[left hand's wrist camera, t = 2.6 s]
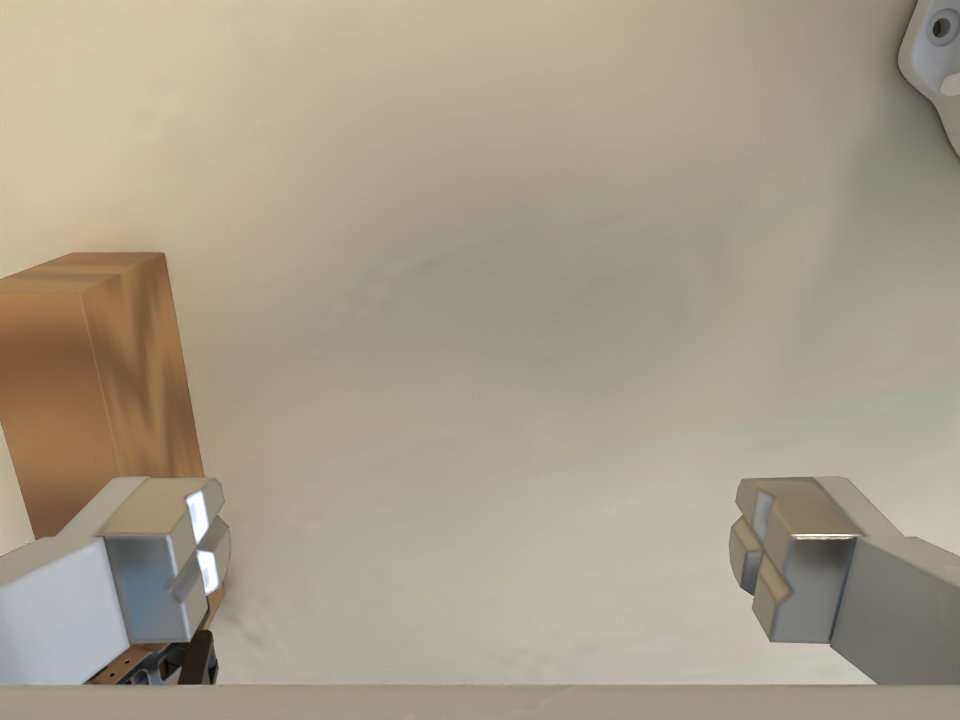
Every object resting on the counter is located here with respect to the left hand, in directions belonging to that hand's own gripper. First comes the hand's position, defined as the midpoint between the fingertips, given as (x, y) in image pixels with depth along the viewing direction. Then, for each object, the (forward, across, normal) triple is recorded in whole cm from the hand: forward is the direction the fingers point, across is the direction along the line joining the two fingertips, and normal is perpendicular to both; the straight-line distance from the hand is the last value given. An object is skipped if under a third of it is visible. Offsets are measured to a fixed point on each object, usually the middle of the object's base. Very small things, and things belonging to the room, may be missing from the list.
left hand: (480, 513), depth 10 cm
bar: (+29, +21, +14) cm, 38 cm away
